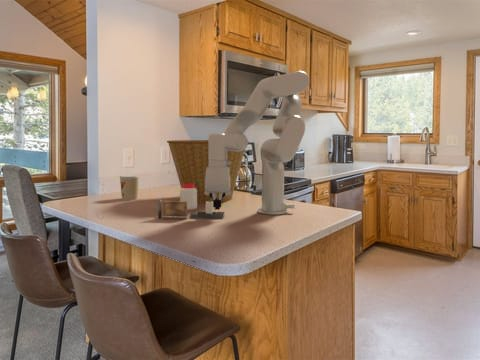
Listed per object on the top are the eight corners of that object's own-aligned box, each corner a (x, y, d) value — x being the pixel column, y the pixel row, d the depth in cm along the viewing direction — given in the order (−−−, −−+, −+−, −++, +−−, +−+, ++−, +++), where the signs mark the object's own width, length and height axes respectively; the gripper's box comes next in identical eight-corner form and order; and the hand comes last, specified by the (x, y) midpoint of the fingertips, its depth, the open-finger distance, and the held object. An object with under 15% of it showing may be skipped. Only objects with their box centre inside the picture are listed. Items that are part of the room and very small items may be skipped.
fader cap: (212, 211, 158) (212, 200, 158) (211, 213, 155) (211, 202, 154) (207, 211, 158) (207, 200, 158) (205, 213, 155) (205, 202, 154)
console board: (224, 215, 159) (224, 211, 159) (222, 218, 153) (222, 214, 153) (193, 214, 160) (193, 211, 160) (190, 217, 154) (190, 214, 154)
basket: (151, 201, 191) (149, 140, 187) (193, 190, 229) (193, 139, 225) (228, 208, 174) (228, 142, 171) (259, 195, 213) (260, 140, 209)
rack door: (187, 216, 153) (186, 201, 152) (186, 216, 151) (186, 201, 151) (163, 215, 153) (163, 200, 152) (162, 216, 152) (162, 201, 151)
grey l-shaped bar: (187, 218, 153) (187, 200, 152) (186, 219, 151) (186, 200, 151) (158, 218, 154) (158, 199, 153) (157, 218, 152) (157, 200, 151)
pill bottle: (194, 209, 171) (193, 185, 169) (177, 209, 172) (177, 184, 171) (199, 206, 178) (199, 183, 177) (183, 205, 180) (183, 182, 178)
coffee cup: (120, 197, 201) (119, 175, 200) (138, 197, 204) (138, 174, 203) (120, 200, 193) (119, 176, 191) (139, 199, 195) (139, 176, 194)
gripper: (237, 163, 157) (236, 207, 159) (200, 163, 158) (200, 207, 160) (235, 165, 150) (235, 211, 152) (197, 164, 150) (197, 210, 153)
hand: (217, 209), depth 156 cm, fingers closed
